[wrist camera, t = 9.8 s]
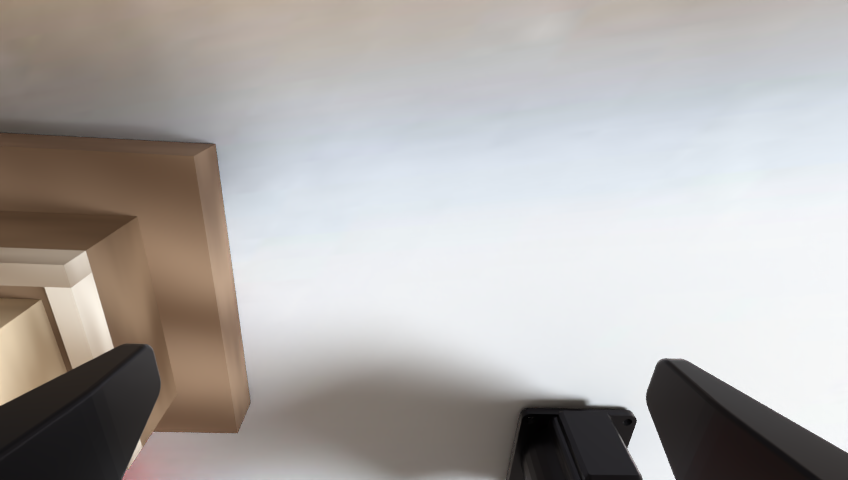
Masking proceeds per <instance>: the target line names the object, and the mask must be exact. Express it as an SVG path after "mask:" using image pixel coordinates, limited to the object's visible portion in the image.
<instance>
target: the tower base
mask: <svg viewBox="0 0 848 480" xmlns="http://www.w3.org/2000/svg"><path fill="white" fill-rule="evenodd" d="M0 298H13V299H41V300H42V303H43V306H44V308H45V311H46V314H47V317H48V320H49V322H50V325H51V328H52V331H53V334H54V336H55V339H56V342H57V345H58V348H59V350H60V353H61V356H62V359H63V362H64V365H65V367H66V370H67V372H68V371H70V370H72V369H74V368H76V367H78V366H80V365H82V364H84V363H86V362H88V361H90V360H92V359H94V358H96V357H98V356H100V355H102V354H104V353H106V352H108V351H110V350H111V349H113V348H115V347H117V346H119V345H122V344H126V343H135V344H148V345H150V346H151V347H152V348H153V351H154V354H155V358H156V362H157V366H158V370H159V374H160V379H161V390H160V394H159V396H158V399H157V401H156V403H155V406H154V408H153V410H152V412H151V415H150V417H149V419H148V422H147V424H146V426H145V428H144V431H143V433H142V435H141V437H140V440H139V442H138V444H137V447H136V449H135V451H134V453H133V456H132V458H131V460H130V463H129V465H128V467H127V469H129V468H130V466H131V465H132V463H133V462H134V460H135V458H136V457H137V455H138V454H139V452H140V451H141V449H142V448H143V446H144V445H145V443H146V441H147V440H148V438H149V437H150V435H151V434H152V432H201V433H238V431H239V428H240V426H241V424H242V422H243V419H244V417H245V415H246V412H247V410H248V408H249V405H250V395H249V388H248V381H247V373H246V366H245V358H244V351H243V344H242V336H241V329H240V322H239V314H238V307H237V300H236V292H235V285H234V278H233V270H232V263H231V255H230V248H229V241H228V233H227V226H226V219H225V211H224V204H223V197H222V189H221V182H220V175H219V167H218V160H217V152H216V145H215V144H203V143H184V142H165V141H146V140H128V139H109V138H90V137H71V136H52V135H34V134H15V133H0Z"/></svg>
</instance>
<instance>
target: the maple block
mask: <svg viewBox="0 0 848 480" xmlns="http://www.w3.org/2000/svg"><path fill="white" fill-rule="evenodd" d="M66 372H67V370H66V367H65V365H64V362H63V359H62V356H61V353H60V350H59V348H58V345H57V342H56V339H55V336H54V334H53V331H52V328H51V325H50V322H49V320H48V317H47V314H46V311H45V308H44V306H43V303H42V300H41V299H13V298H0V406H1V405H3V404H5V403H7V402H9V401H11V400H13V399H15V398H17V397H19V396H21V395H23V394H25V393H27V392H29V391H31V390H33V389H34V388H36V387H38V386H40V385H42V384H44V383H46V382H48V381H50V380H52V379H54V378H56V377H58V376H60V375H62V374H64V373H66Z"/></svg>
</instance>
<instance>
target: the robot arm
mask: <svg viewBox="0 0 848 480" xmlns="http://www.w3.org/2000/svg"><path fill="white" fill-rule="evenodd" d="M160 390H161V379H160V374H159V370H158V366H157V362H156V358H155V354H154V351H153V348H152V347H151V346H150V345H148V344H135V343H126V344H122V345H119V346H117V347H115V348H113V349H111V350H110V351H108V352H106V353H104V354H102V355H100V356H98V357H96V358H94V359H92V360H90V361H88V362H86V363H84V364H82V365H80V366H78V367H76V368H74V369H72V370H70V371H68V372H66V373H64V374H62V375H60V376H58V377H56V378H54V379H52V380H50V381H48V382H46V383H44V384H42V385H40V386H38V387H36V388H34V389H33V390H31V391H29V392H27V393H25V394H23V395H21V396H19V397H17V398H15V399H13V400H11V401H9V402H7V403H5V404H3V405H1V406H0V480H122V478H123V476H124V473H125V471H126V469H127V467H128V465H129V463H130V460H131V458H132V456H133V453H134V451H135V449H136V447H137V444H138V442H139V440H140V437H141V435H142V433H143V431H144V428H145V426H146V424H147V422H148V419H149V417H150V415H151V412H152V410H153V408H154V406H155V403H156V401H157V399H158V396H159V394H160ZM646 401H647V406H648V409H649V411H650V414H651V417H652V419H653V422H654V425H655V427H656V430H657V432H658V435H659V438H660V440H661V443H662V445H663V448H664V451H665V453H666V456H667V458H668V461H669V464H670V466H671V469H672V472H673V474H674V476H675V479H676V480H848V453H847V452H845V451H843V450H841V449H840V448H838V447H836V446H835V445H833V444H831V443H829V442H828V441H826V440H824V439H822V438H821V437H819V436H817V435H815V434H814V433H812V432H810V431H808V430H807V429H805V428H803V427H801V426H800V425H798V424H796V423H795V422H793V421H791V420H789V419H788V418H786V417H784V416H782V415H781V414H779V413H777V412H775V411H774V410H772V409H770V408H768V407H767V406H765V405H763V404H761V403H760V402H758V401H756V400H755V399H753V398H751V397H749V396H748V395H746V394H744V393H742V392H741V391H739V390H737V389H735V388H734V387H732V386H730V385H728V384H727V383H725V382H723V381H721V380H720V379H718V378H716V377H715V376H713V375H711V374H709V373H708V372H706V371H704V370H702V369H701V368H699V367H697V366H695V365H694V364H692V363H690V362H688V361H686V360H684V359H667V358H665V359H661V360H660V361H659V362H658V363H657V365H656V367H655V370H654V373H653V376H652V378H651V381H650V384H649V387H648V389H647V393H646ZM529 417H531V418H529ZM636 421H637V420H636V418H635V416H634V414H633V413H632V412H631V411H629V410H598V409H551V408H527V409H524V410H523V411H522V412H521V413H520V416H519V421H518V426H517V430H516V435H515V440H514V445H513V450H512V455H511V460H510V465H509V469H508V474H507V479H506V480H642V476H641V474H640V472H639V470H638V468H637V466H636V464H635V463H634V461H633V459H632V457H631V455H630V453H629V451H628V449H627V447H628V444H629V442H630V439H631V436H632V433H633V430H634V428H635V425H636Z"/></svg>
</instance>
